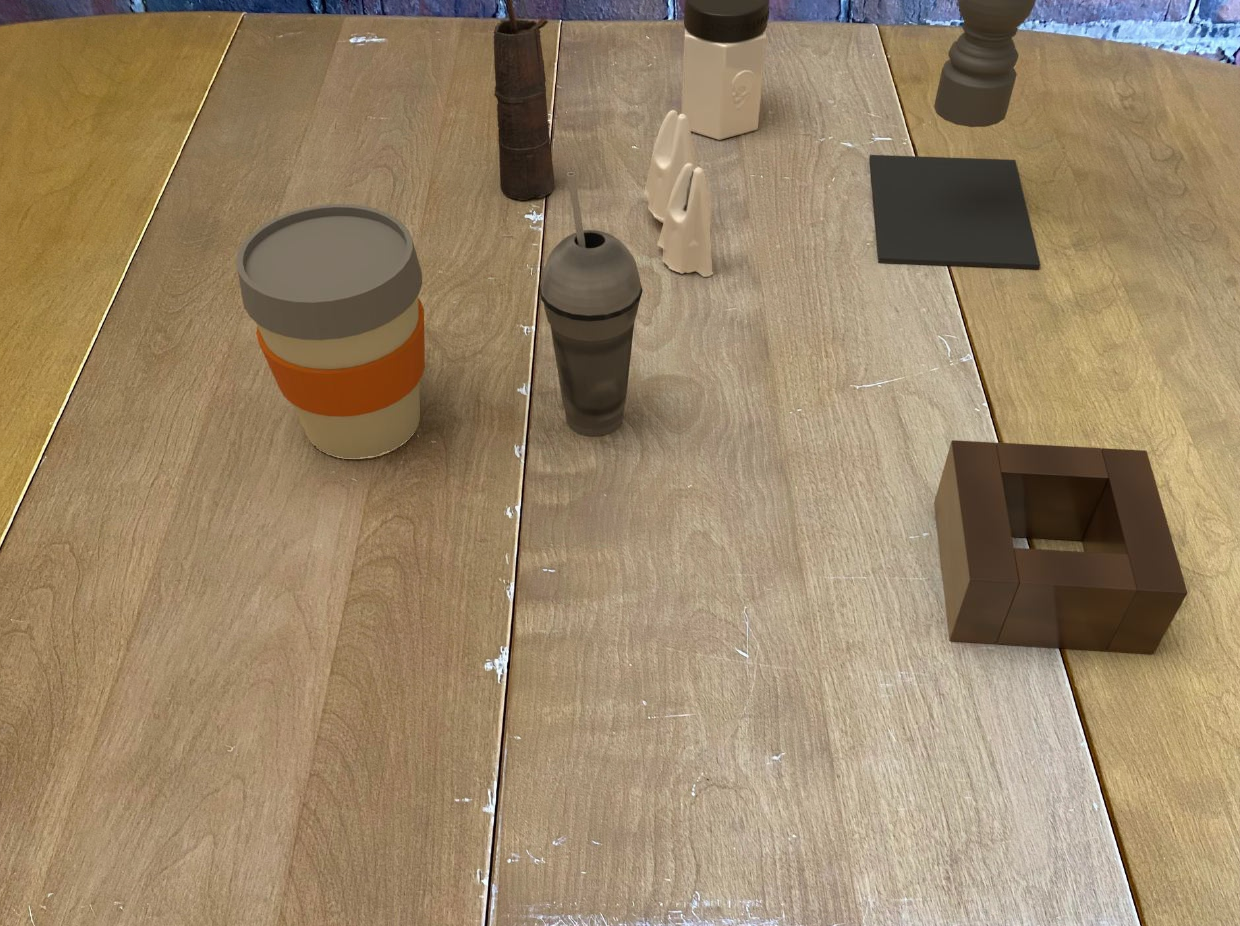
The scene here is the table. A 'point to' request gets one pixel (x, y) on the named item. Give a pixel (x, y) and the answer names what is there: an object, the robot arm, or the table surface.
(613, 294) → the beverage cup
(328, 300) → the reusable coffee cup
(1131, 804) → the table surface
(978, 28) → the candle holder
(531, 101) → the butter churn
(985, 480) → the holder
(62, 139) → the table surface
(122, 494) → the table surface
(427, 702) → the table surface
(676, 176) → the shaker set
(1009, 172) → the mat
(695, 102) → the jar
